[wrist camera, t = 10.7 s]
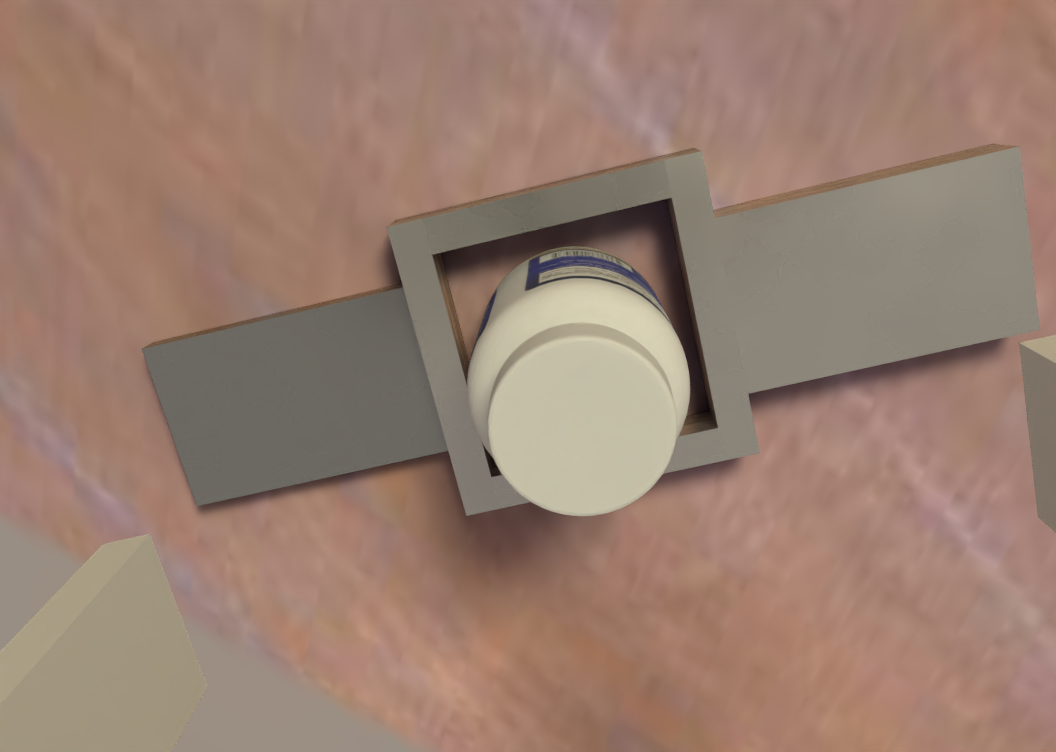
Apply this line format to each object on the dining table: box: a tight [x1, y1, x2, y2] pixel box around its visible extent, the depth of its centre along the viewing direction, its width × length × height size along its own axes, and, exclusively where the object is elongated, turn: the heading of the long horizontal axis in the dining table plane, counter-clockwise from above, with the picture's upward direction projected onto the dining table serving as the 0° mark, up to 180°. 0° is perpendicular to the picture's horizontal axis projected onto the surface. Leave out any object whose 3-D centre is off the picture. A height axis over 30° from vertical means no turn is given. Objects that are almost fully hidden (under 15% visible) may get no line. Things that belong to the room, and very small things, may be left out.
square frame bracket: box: [142, 144, 1040, 516], centre depth 28 cm, size 25×9×2 cm, turn 103°
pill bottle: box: [467, 246, 690, 516], centre depth 25 cm, size 5×5×9 cm
